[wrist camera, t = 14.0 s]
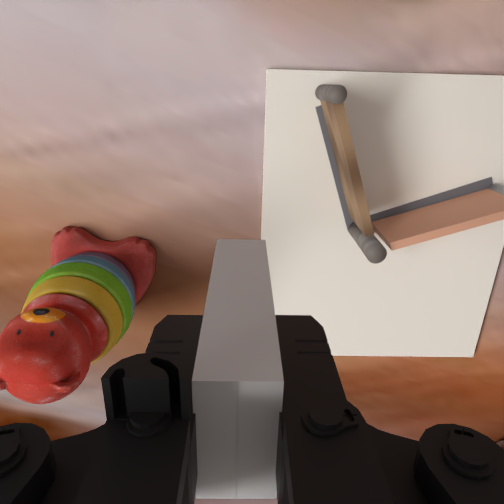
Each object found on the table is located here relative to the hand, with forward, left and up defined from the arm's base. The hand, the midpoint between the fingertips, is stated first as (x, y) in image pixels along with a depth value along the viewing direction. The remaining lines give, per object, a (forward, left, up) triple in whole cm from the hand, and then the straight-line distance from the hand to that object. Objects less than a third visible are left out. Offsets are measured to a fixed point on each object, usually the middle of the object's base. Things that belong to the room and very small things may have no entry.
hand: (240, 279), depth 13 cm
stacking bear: (+14, -15, -30) cm, 36 cm away
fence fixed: (+2, +10, -29) cm, 30 cm away
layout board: (+8, +15, -29) cm, 34 cm away
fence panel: (+5, +20, -29) cm, 35 cm away
